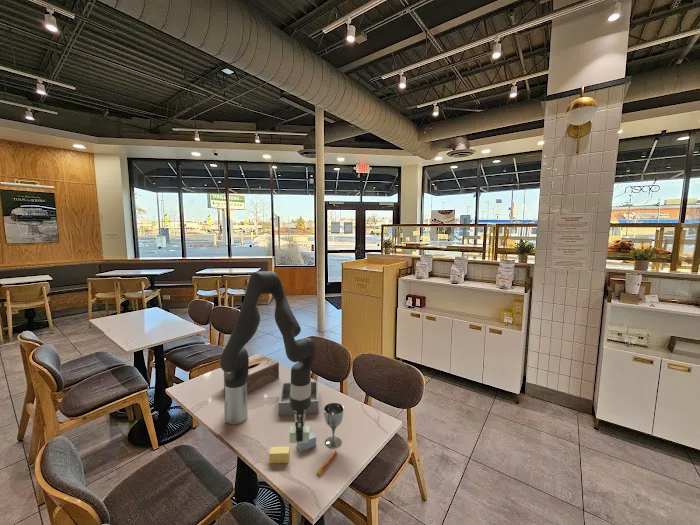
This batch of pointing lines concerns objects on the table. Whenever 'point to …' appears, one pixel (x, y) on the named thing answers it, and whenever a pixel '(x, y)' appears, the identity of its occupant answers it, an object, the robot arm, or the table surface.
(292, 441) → the sage brick
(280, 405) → the frame
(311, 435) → the slate brick
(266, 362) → the tissue box cover
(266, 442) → the table surface
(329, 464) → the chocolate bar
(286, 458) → the ochre brick
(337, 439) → the wine glass
